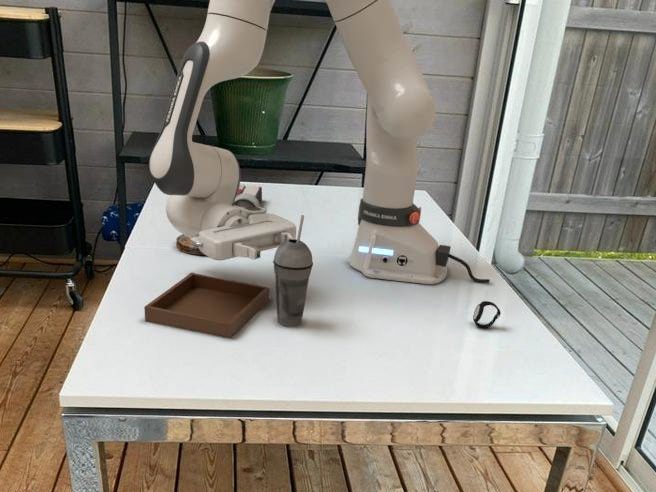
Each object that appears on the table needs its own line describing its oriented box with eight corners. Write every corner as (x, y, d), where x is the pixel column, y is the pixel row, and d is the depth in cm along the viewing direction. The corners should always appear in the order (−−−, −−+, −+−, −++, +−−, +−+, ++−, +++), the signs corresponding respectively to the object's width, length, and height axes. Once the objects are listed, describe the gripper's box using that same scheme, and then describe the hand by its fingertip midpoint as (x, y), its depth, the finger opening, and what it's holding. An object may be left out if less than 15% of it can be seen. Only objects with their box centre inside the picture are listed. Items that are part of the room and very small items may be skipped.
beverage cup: (269, 314, 147) (274, 207, 136) (306, 315, 148) (314, 210, 136) (271, 329, 141) (276, 220, 130) (310, 331, 142) (318, 222, 131)
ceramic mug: (260, 221, 195) (261, 190, 191) (258, 231, 189) (259, 199, 184) (219, 219, 195) (218, 187, 191) (215, 228, 188) (215, 196, 184)
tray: (269, 300, 152) (270, 287, 151) (231, 338, 137) (231, 324, 135) (191, 285, 156) (191, 272, 154) (145, 321, 140) (144, 306, 138)
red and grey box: (207, 181, 209) (262, 184, 209) (208, 198, 212) (262, 200, 211) (199, 192, 200) (256, 194, 200) (201, 208, 203) (257, 211, 202)
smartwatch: (473, 321, 152) (478, 297, 149) (499, 327, 150) (504, 303, 147) (468, 328, 149) (472, 303, 146) (493, 334, 147) (499, 309, 144)
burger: (233, 255, 173) (234, 221, 169) (182, 257, 169) (181, 223, 165) (221, 238, 182) (221, 206, 178) (171, 239, 179) (170, 207, 174)
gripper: (184, 221, 139) (233, 242, 132) (267, 205, 152) (316, 224, 144) (185, 255, 143) (232, 277, 135) (266, 237, 155) (314, 257, 148)
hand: (276, 250), depth 140 cm, fingers open, 8 cm apart
